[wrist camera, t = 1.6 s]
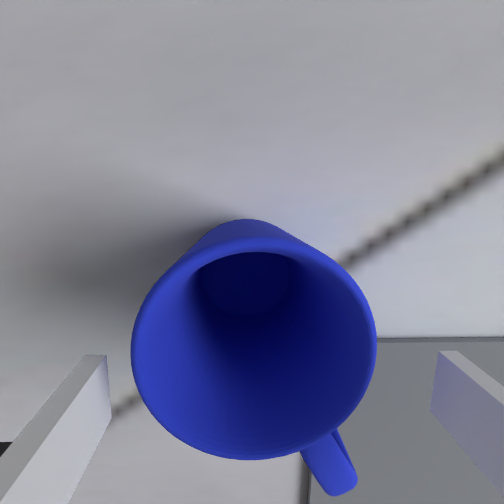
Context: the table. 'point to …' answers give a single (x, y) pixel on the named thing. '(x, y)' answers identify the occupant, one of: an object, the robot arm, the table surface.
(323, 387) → the mug
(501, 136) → the table surface
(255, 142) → the table surface
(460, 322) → the table surface
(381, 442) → the coaster
